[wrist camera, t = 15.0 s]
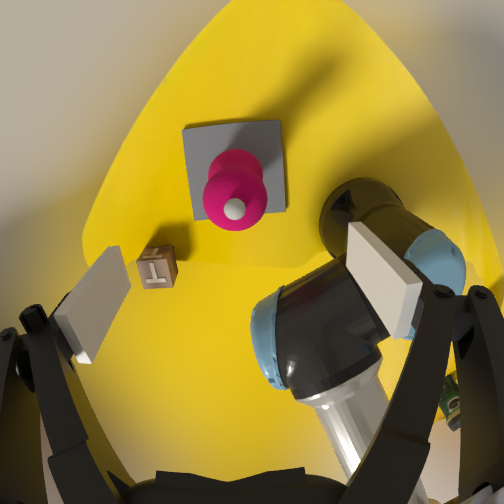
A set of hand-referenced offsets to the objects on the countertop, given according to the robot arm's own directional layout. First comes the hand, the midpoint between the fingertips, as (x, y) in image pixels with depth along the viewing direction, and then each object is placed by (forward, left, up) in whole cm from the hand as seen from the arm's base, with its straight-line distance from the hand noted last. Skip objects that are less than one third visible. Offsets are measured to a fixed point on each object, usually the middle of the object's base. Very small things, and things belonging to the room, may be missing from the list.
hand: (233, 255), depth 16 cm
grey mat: (0, 0, -28) cm, 28 cm away
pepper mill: (0, 0, -28) cm, 28 cm away
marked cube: (+14, +13, -28) cm, 35 cm away
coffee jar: (-60, +69, -29) cm, 96 cm away
